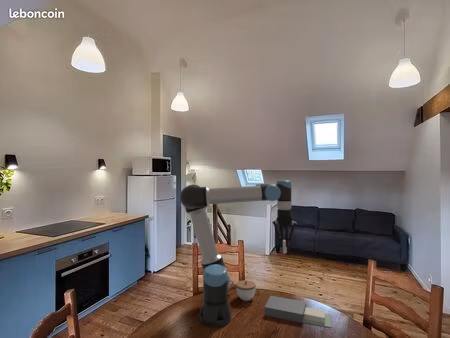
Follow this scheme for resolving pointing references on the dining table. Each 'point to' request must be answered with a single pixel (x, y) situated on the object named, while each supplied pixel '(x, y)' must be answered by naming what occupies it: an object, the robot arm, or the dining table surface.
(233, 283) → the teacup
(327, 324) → the mat
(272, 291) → the dining table surface
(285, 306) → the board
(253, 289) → the lidded jar
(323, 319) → the tile
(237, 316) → the dining table surface
